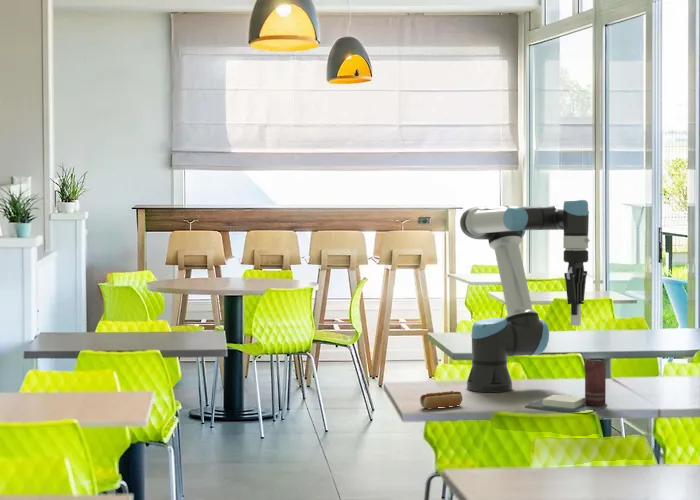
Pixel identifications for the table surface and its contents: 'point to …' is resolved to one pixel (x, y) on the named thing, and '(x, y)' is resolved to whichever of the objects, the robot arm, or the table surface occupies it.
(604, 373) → the can
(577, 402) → the tile
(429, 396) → the food
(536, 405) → the mat
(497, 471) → the table surface
